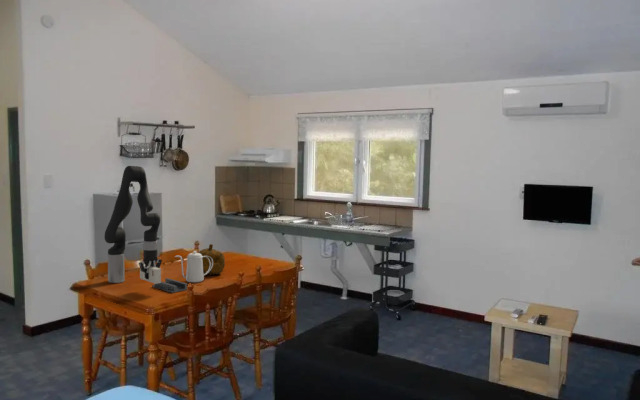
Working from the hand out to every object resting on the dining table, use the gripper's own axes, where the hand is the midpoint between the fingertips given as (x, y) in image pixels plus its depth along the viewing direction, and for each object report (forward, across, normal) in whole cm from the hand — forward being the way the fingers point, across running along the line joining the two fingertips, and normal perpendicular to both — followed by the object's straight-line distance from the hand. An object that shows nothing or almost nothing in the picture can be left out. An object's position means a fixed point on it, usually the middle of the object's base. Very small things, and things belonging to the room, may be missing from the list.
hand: (150, 278), depth 295 cm
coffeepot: (+8, -33, -5) cm, 35 cm away
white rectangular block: (+1, 0, 0) cm, 1 cm away
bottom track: (+8, -13, 0) cm, 15 cm away
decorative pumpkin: (+8, -52, -14) cm, 55 cm away
